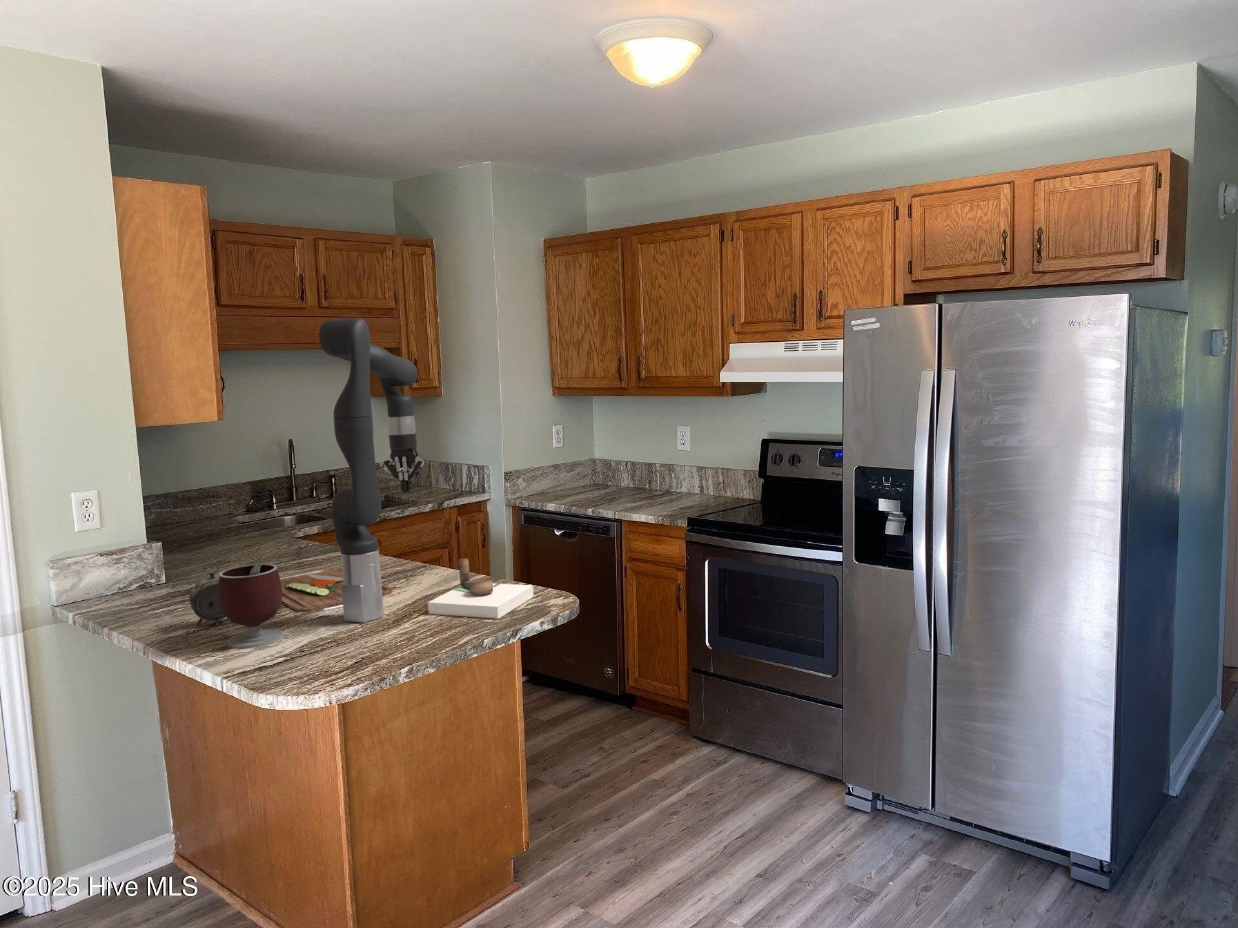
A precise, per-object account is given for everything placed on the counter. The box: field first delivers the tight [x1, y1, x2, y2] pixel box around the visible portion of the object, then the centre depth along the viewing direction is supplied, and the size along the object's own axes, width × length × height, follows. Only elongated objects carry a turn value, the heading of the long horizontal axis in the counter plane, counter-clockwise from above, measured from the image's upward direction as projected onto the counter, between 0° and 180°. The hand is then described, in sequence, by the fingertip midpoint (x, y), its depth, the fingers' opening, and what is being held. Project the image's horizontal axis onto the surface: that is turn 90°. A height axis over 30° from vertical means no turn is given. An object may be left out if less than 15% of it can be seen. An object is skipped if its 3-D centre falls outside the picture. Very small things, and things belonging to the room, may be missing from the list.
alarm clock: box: [189, 561, 227, 627], centre depth 231 cm, size 11×5×16 cm, turn 123°
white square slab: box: [427, 582, 534, 619], centre depth 237 cm, size 20×20×3 cm
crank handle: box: [458, 557, 493, 595], centre depth 239 cm, size 13×6×7 cm, turn 37°
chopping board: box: [280, 567, 393, 613], centre depth 261 cm, size 45×27×3 cm, turn 38°
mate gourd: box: [218, 563, 284, 649], centre depth 215 cm, size 16×14×20 cm
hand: (407, 492), depth 257 cm, fingers closed
